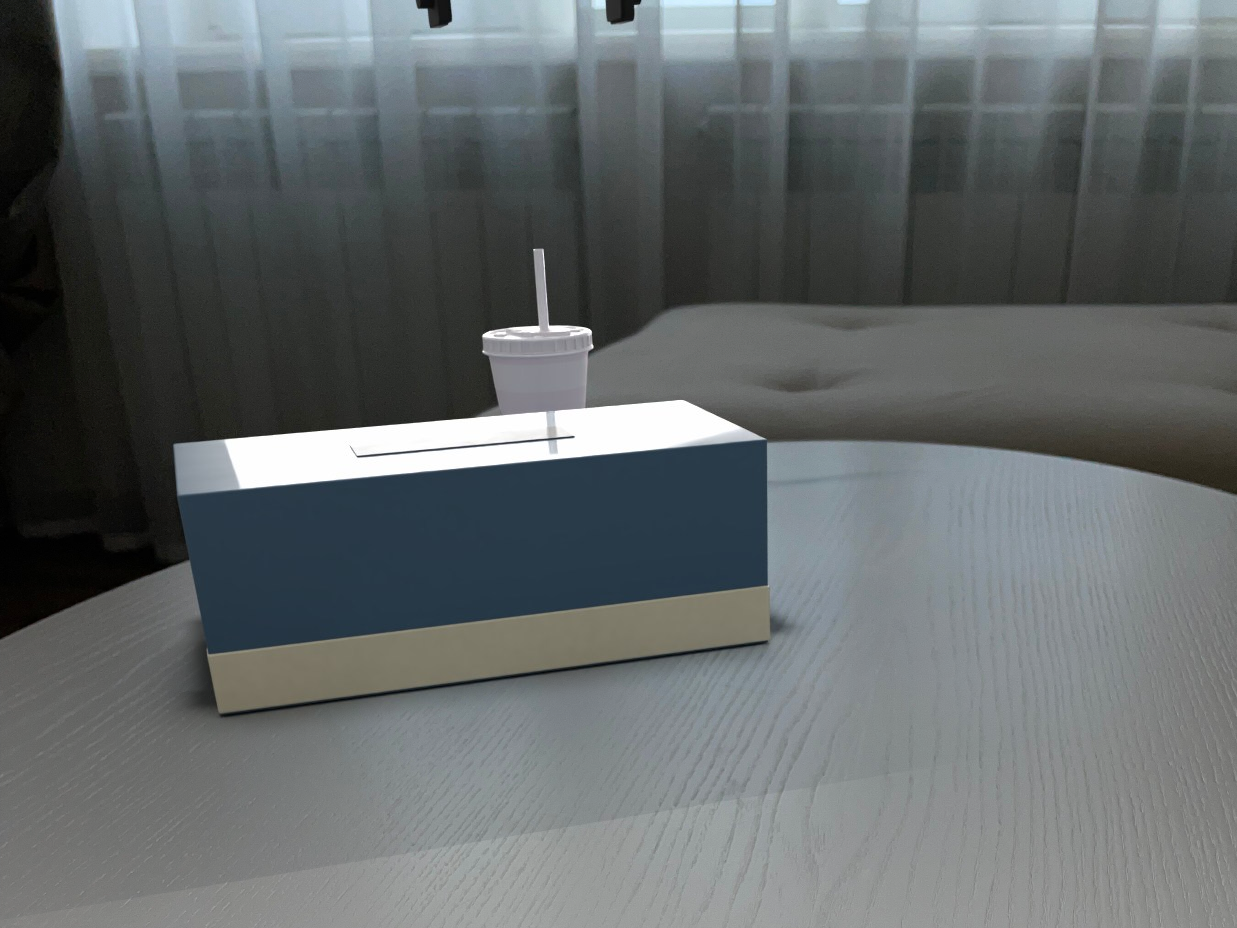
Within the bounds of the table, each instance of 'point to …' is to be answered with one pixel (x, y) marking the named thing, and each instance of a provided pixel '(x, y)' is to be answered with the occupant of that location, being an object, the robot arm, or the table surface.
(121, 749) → the table surface
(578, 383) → the smoothie
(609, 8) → the robot arm
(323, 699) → the tissue box
